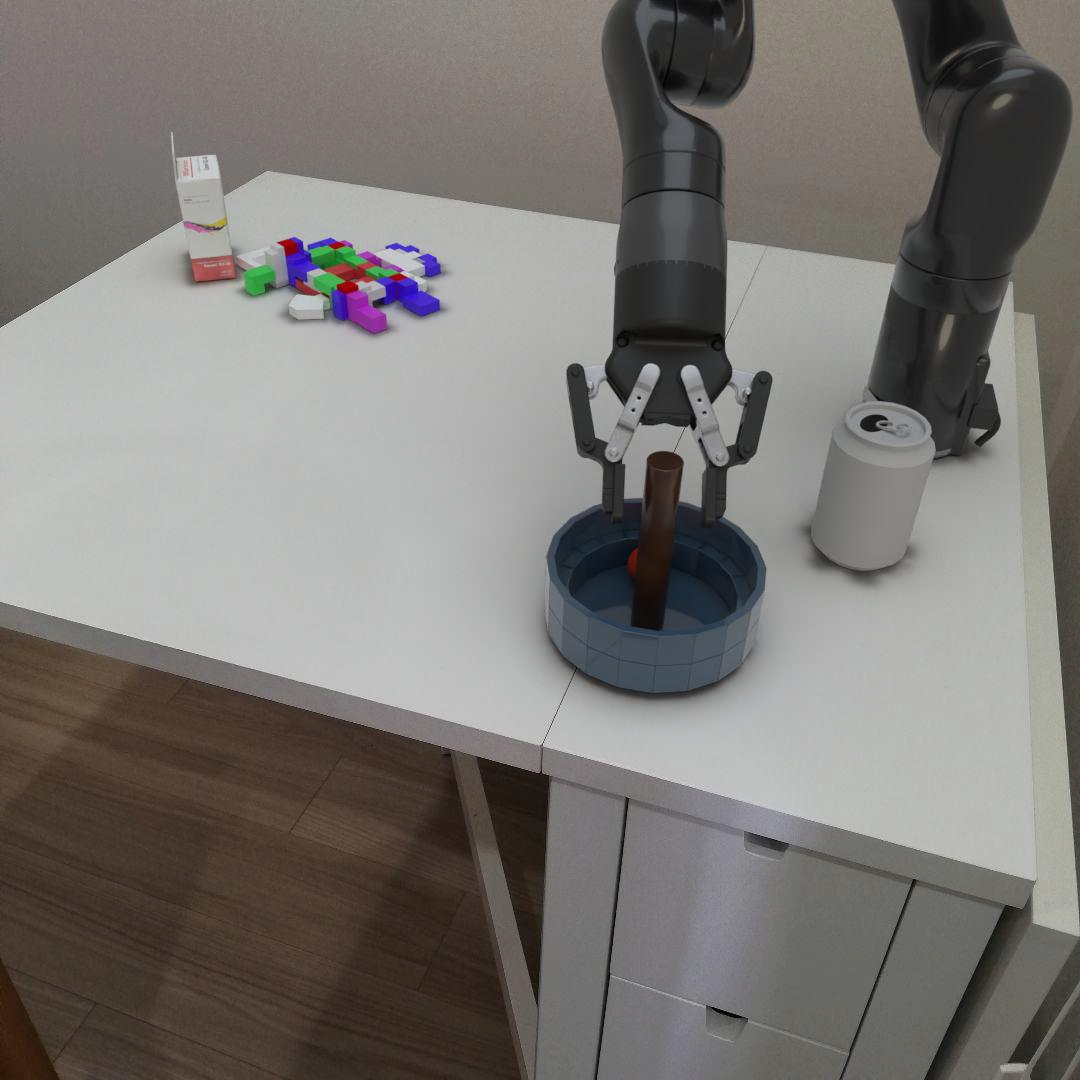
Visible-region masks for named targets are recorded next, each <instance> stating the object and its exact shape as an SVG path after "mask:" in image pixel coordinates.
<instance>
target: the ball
mask: <svg viewBox="0 0 1080 1080" xmlns="http://www.w3.org/2000/svg"><path fill="white" fill-rule="evenodd" d="M637 551H638V548H637V549H635V550H634V551H633V552H632V553H631V555H630V557H629V559H628V565H627V566H628V571H629V574H630V576H631V577H632V578H633V579H634V580H635V571H636V561H637Z"/></svg>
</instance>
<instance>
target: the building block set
mask: <svg viewBox="0 0 1080 1080" xmlns="http://www.w3.org/2000/svg"><path fill="white" fill-rule="evenodd" d="M306 246H307V250H306V249H305V247H304V241H303V240H301V239H300V238H298V237H296V236H292V237H289V238H285V239H283V240H279V241H277V242H273V243H270V244H269V246H268V245H267V246H265V247H262V248H258V249H256V250H252V251H249V252H246V253H243V254H238V255H236V258H235V259H236V264H237V266H238V267H240V268H241V269H243V270H245V271H244V272H243V281H244V286H245V287H244V288H245V292H247V293H249V294H250V295H252V296H254V297H255V296H258V295H261V294H263V293H266V288H265V284H269V285H271V286H272V287H274V288H275V289H279V288H281V287H286V286H288V285H290V286H292V287H294V288H295V289H297V290H299V291H301V292H302V293H304V294H299V293H297V294H296V295H295V296H294V297H293V298H292V300H291V301H290V302H289V304H288V306H287V307H288V313H289V315H290V316H291V317H293V318H295V319H296V320H298V321H299V320H324V319H325V311H326V310H330V309H331V310H332V314H333V317H335V318H337V319H339V320H341V321H345V320H350V321H352V322H353V323H355V324H356V325H359V326H360V327H362V328H364V329H365V330H367V331H369V332H370V333H372V334H377V333H379V332H382V331H384V330H387V329H388V323H387V322H388V319H387V314H386V313H385V312H383V311H381V310H379V309H378V308H376V307H374V303H373V302H374V301H378V302H380V303H381V304H384V305H387V304H390V303H393V302H395V301H398V302H400V303H401V304H402V307H404V308H405V309H407V310H408V311H411V312H413V313H414V314H416V315H418V316H420V317H423V316H426V315H429V314H431V313H434V312H437V311H439V310H441V302H440V301H441V300H440V299H439V298H437V297H435V296H433V295H431V294H429V293H428V292H426V291H427V290H428V285H427V284H428V281H427V280H426V279H424V278H423V276H426V277H429V278H431V277H434V276H436V275H439V274H441V273H442V272H441V263H439V262H438V258H437V257H436V256H434V255H432V254H430V253H425V254H421V253H420V248H418V247H416V246H413V245H412V244H409V245H406V246H405V245H402V244H400V243H398V242H394V243H391V244H388V245H385V249H383V250H380V251H377V252H374V253H372V252H370V251H369V250H367V251H363V252H360V253H357V252H356V249H354V244H353V243H351V242H350V241H347V240H345V239H343V240H340V241H338V240H336V239H334V238H333V237H328V238H325V239H321V240H319V241H315V242H312V243H309V244H306ZM356 253H357V254H356ZM353 279H355V280H353ZM351 280H352V281H351Z"/></svg>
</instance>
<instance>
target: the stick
mask: <svg viewBox="0 0 1080 1080" xmlns="http://www.w3.org/2000/svg"><path fill="white" fill-rule="evenodd" d="M684 465H685V462H684V459H683V458H682V456H681V455H679V454H677V453H675V452H673V451H669V450H668V451H667V450H657V451H654V452H652V453H650V454H649V455H648V456H647V458H646V462H645V472H644V481H643V482H644V483H643V490H642V491H643V493H642V498H643V501H642V511H641V521H640V531H639V541H638V551H637V561H636V571H635V581H634V591H633V601H632V611H631V624H632V626H633V627H637V628H643V629H649V630H656V631H659V630H660V629H661V628H662V627H663V625H664V618H665V610H666V602H667V594H668V586H669V578H670V570H671V562H672V554H673V546H674V538H675V530H676V522H677V514H678V507H679V501H680V498H681V490H682V481H683V476H684V475H683V474H684V467H685V466H684Z"/></svg>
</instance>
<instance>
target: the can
mask: <svg viewBox="0 0 1080 1080" xmlns="http://www.w3.org/2000/svg"><path fill="white" fill-rule="evenodd" d="M931 433H932V431H931V425H930V424H929V422H928V421H927V419H926V418H925V417H924V416H922V415H921V414H919V413H918V412H917V411H915V410H913V409H910V408H908V407H906V406H903V405H899V404H896V403H890V402H882V401H874V402H865V403H863V402H861V403H857V404H855V405H853V406H852V407H850V408H848V410H847V411H846V413H845V414H844V418H842V419H841V420H839V421H838V422H837V423H836V424H835V426H834V427H833V429H832V432H831V437H830V442H829V444H828V445H829V446H828V450H827V454H826V458H825V464H824V468H823V473H822V478H821V483H820V487H819V492H818V496H817V500H816V504H815V510H814V513H813V518H812V522H811V526H810V538H811V539H812V541H813V544H814V546H815V547H816V548H817V549H818V550H819V551H820V552H821V553H822V554H823V555H824V556H825V557H826V558H827V559H828V560H829V561H831V562H832V563H835V564H836V565H838V566H840V567H843V568H846V569H849V570H853V571H859V572H860V571H861V572H868V571H869V572H870V571H876V570H880V569H883V568H886V567H889V566H893V565H895V564H896V563H897V562H899V561H900V560H902V559H903V557H904V556H905V554H906V551H907V549H908V546H909V543H910V539H911V535H912V531H913V528H914V526H915V523H916V519H917V515H918V512H919V509H920V505H921V502H922V499H923V495H924V491H925V488H926V484H927V481H928V478H929V474H930V471H931V468H932V464H933V461H934V459H935V458H934V455H935V451H936V449H935V442H934V441H933V439H932V438H931V437H930V435H931Z"/></svg>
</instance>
